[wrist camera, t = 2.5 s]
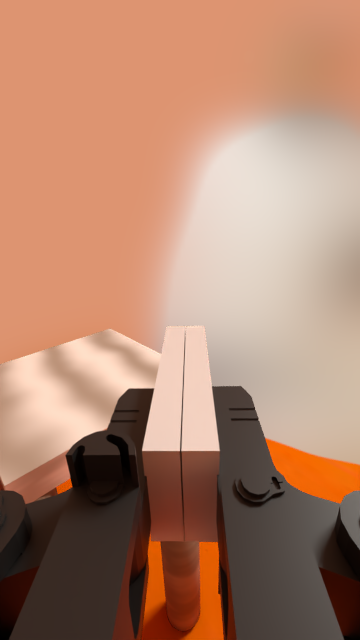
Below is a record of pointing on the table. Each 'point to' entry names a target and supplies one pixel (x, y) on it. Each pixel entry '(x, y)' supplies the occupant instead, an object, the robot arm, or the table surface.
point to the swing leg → (181, 582)
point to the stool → (63, 405)
